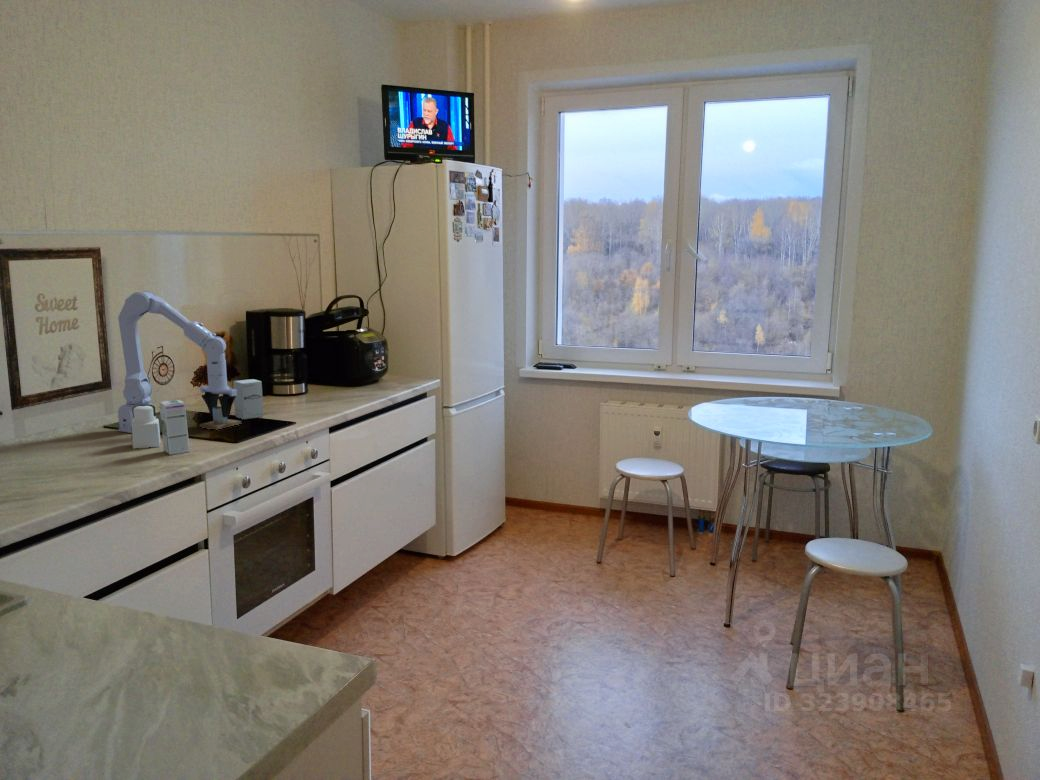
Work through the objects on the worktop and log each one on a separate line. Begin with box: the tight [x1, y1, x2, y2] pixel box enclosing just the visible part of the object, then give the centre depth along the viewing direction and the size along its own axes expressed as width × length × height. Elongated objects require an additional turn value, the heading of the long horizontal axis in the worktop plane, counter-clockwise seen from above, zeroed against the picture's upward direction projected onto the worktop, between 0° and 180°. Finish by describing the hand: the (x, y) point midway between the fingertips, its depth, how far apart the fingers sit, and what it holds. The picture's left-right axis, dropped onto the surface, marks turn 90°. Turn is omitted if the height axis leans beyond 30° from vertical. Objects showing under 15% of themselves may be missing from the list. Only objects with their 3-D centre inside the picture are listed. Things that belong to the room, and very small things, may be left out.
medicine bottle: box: [130, 404, 161, 450], centre depth 227 cm, size 7×7×12 cm
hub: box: [212, 405, 229, 424], centre depth 252 cm, size 4×4×5 cm
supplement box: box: [232, 378, 264, 420], centre depth 266 cm, size 7×7×13 cm
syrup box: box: [158, 399, 190, 456], centre depth 220 cm, size 6×6×14 cm
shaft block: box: [199, 418, 242, 431], centre depth 253 cm, size 10×8×6 cm
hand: (220, 416), depth 252 cm, fingers open, 5 cm apart
